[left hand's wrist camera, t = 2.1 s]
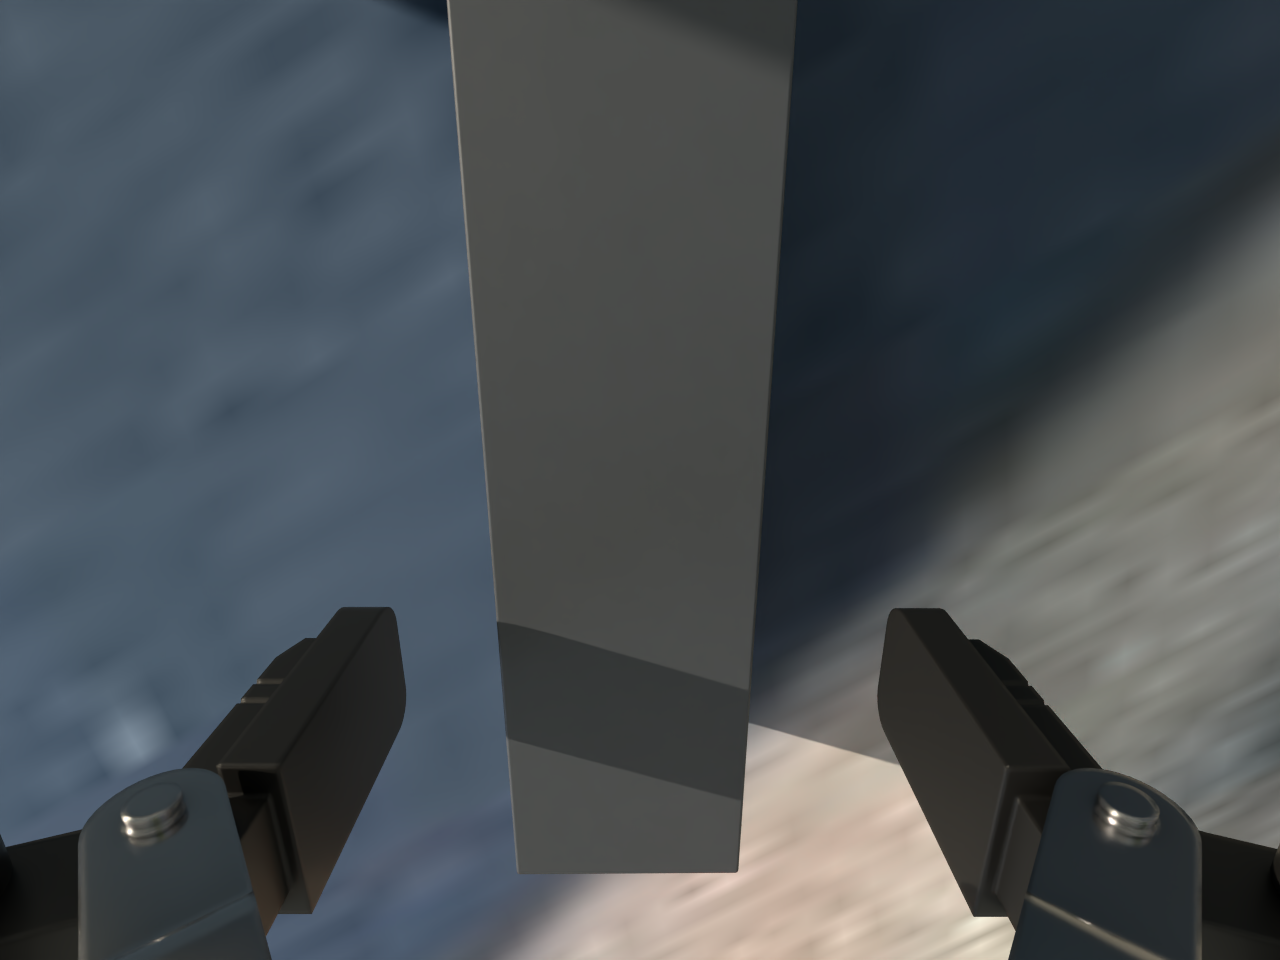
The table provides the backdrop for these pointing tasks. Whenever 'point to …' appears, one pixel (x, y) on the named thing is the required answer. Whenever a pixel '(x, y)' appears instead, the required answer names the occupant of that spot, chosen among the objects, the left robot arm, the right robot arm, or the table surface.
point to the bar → (624, 403)
